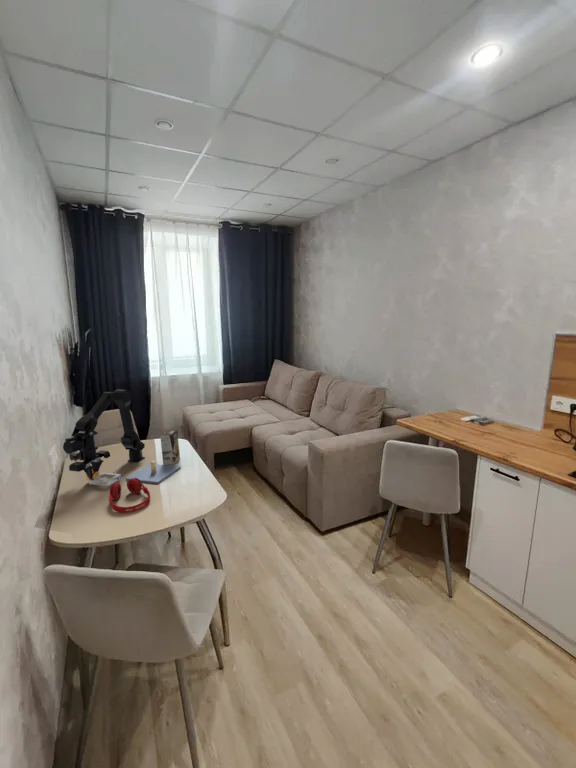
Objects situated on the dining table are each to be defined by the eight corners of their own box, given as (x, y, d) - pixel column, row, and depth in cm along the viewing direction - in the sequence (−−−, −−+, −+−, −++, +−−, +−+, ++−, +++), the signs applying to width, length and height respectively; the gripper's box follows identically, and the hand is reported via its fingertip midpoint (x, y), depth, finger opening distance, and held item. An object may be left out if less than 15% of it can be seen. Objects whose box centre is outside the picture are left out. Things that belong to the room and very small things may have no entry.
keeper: (150, 465, 189) (149, 453, 188) (180, 468, 184) (179, 455, 182) (126, 480, 172) (124, 467, 171) (158, 484, 167) (156, 470, 166)
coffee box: (175, 464, 189) (172, 434, 186) (162, 465, 189) (159, 435, 186) (180, 458, 198) (177, 429, 195) (168, 458, 198) (165, 429, 195)
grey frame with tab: (121, 478, 172) (120, 470, 171) (107, 486, 164) (106, 478, 163) (96, 475, 176) (95, 467, 175) (81, 483, 168) (80, 475, 168)
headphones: (105, 497, 156) (116, 522, 140) (104, 482, 154) (114, 507, 138) (141, 486, 164) (155, 509, 149) (140, 472, 162) (154, 494, 147)
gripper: (90, 438, 180) (95, 468, 182) (57, 452, 162) (62, 484, 165) (108, 439, 176) (113, 470, 179) (76, 454, 159) (81, 487, 162)
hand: (93, 477), depth 171 cm, fingers closed on grey frame with tab, 2 cm apart
